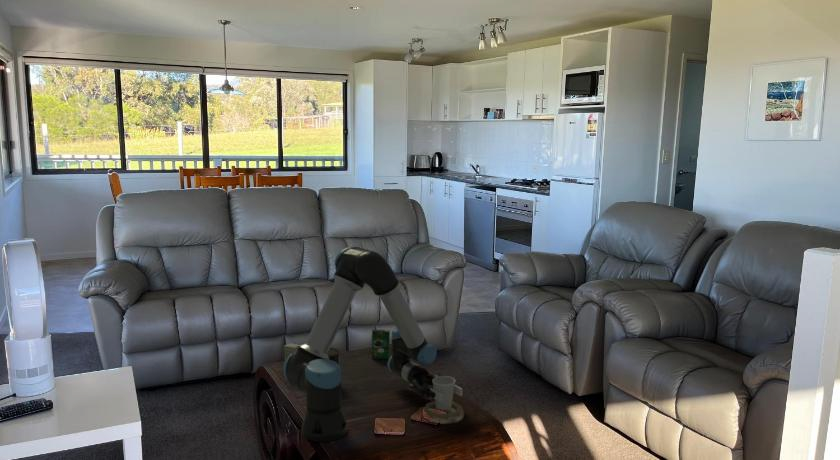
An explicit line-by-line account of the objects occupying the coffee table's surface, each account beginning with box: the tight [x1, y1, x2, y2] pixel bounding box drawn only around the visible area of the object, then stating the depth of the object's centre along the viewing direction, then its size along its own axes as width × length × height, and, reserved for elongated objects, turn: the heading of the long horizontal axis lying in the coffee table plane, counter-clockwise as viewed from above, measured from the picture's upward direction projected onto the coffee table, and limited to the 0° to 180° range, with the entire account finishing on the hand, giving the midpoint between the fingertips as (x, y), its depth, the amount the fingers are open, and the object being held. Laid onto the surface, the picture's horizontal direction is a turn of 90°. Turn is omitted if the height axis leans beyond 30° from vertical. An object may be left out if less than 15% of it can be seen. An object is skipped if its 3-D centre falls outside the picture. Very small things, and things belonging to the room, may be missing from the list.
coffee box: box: [371, 328, 391, 360], centre depth 271 cm, size 8×3×13 cm, turn 88°
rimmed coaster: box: [423, 400, 465, 425], centre depth 215 cm, size 15×15×2 cm
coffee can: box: [328, 347, 341, 367], centre depth 240 cm, size 10×10×14 cm
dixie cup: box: [432, 375, 457, 410], centre depth 214 cm, size 8×8×10 cm
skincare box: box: [283, 342, 300, 361], centre depth 253 cm, size 6×4×12 cm
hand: (451, 395), depth 210 cm, fingers closed on dixie cup, 8 cm apart
